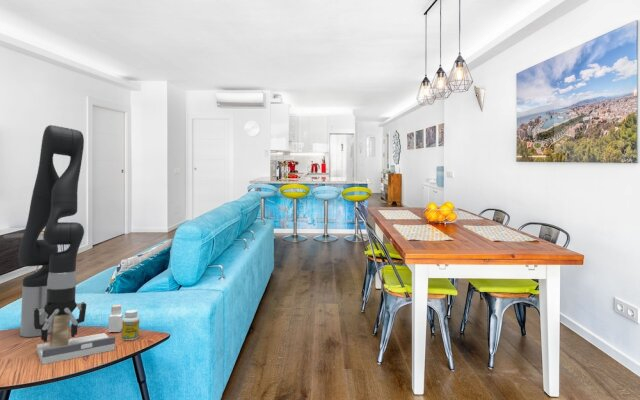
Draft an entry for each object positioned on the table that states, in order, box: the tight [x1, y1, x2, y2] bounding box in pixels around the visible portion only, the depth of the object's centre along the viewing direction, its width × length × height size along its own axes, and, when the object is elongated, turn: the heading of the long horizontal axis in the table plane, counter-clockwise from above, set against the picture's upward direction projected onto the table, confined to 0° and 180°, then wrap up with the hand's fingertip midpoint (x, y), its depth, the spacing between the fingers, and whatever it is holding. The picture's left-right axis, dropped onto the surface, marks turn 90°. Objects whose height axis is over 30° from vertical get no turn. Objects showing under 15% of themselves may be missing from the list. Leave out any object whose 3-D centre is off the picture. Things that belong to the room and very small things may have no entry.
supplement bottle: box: [121, 309, 140, 341], centre depth 134 cm, size 5×5×10 cm
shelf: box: [36, 332, 116, 365], centre depth 121 cm, size 13×19×4 cm
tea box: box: [49, 314, 71, 348], centre depth 120 cm, size 4×6×10 cm
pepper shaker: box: [107, 304, 124, 333], centre depth 140 cm, size 4×4×10 cm
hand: (59, 338), depth 119 cm, fingers open, 6 cm apart
